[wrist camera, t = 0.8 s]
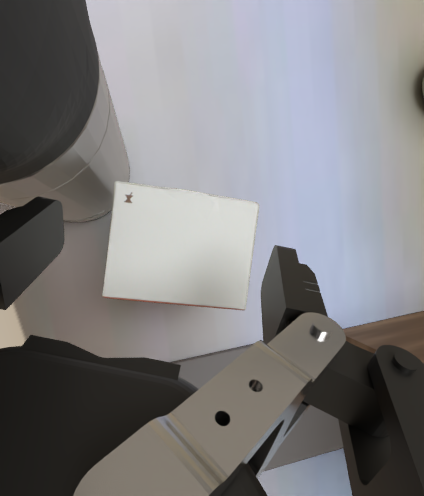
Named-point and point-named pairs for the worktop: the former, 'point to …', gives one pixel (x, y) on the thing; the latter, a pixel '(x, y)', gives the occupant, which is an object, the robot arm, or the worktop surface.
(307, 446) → the mat
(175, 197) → the small box
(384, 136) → the worktop surface
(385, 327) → the stand
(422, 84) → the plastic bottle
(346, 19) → the worktop surface
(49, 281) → the worktop surface
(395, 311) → the worktop surface
